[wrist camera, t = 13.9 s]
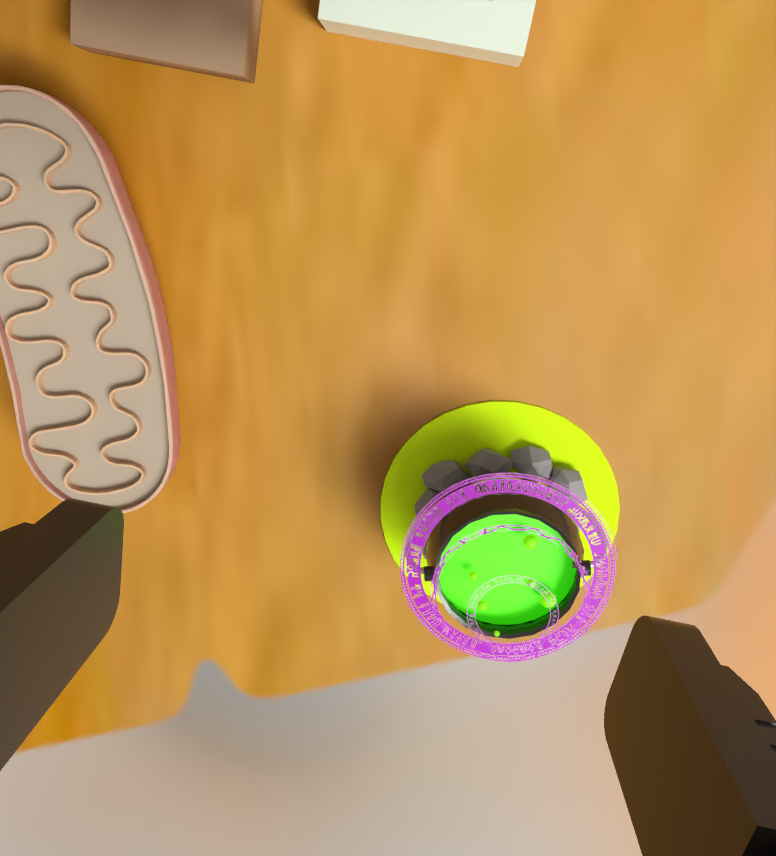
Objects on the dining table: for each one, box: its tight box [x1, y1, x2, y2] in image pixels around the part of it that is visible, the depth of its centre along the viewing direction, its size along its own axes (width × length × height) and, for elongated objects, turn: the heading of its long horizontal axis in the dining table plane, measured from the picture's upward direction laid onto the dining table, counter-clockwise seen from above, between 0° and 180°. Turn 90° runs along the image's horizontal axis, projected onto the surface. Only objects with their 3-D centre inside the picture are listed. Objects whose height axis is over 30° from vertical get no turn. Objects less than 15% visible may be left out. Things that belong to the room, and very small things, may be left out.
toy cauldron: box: [381, 401, 620, 662], centre depth 36 cm, size 15×15×11 cm
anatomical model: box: [0, 85, 181, 513], centre depth 37 cm, size 23×10×5 cm, turn 7°
